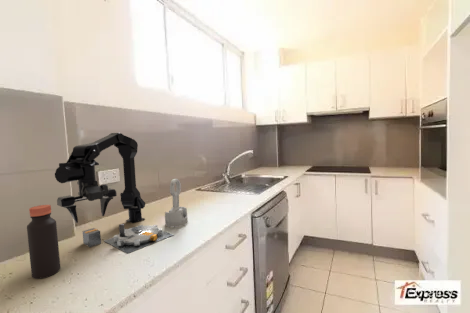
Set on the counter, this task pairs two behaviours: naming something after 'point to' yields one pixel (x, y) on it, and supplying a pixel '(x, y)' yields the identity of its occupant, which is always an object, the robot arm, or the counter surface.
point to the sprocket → (137, 235)
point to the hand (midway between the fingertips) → (90, 219)
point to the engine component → (176, 208)
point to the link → (91, 237)
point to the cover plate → (133, 248)
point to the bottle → (43, 242)
